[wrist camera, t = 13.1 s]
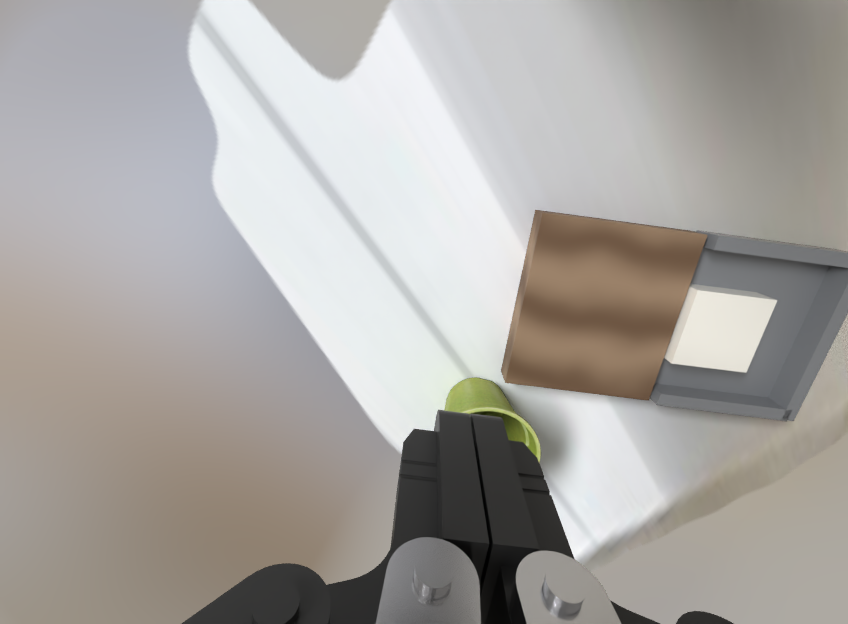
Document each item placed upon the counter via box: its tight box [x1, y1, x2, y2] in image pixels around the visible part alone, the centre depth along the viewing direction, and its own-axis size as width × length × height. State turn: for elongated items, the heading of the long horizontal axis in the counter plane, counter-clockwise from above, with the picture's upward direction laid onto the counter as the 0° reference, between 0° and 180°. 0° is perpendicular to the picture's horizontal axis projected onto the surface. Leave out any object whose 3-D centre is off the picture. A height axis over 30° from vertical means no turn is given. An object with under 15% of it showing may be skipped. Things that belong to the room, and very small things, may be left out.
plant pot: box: [444, 378, 541, 463], centre depth 38 cm, size 9×9×9 cm
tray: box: [650, 231, 848, 421], centre depth 38 cm, size 16×14×3 cm
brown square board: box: [501, 210, 707, 400], centre depth 38 cm, size 16×14×2 cm
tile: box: [664, 284, 777, 373], centre depth 37 cm, size 7×7×2 cm
